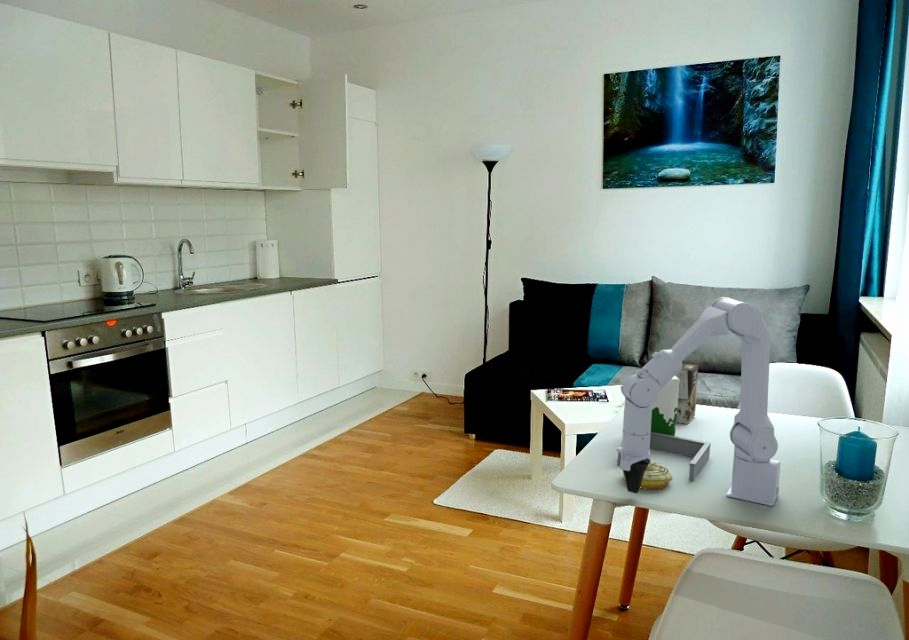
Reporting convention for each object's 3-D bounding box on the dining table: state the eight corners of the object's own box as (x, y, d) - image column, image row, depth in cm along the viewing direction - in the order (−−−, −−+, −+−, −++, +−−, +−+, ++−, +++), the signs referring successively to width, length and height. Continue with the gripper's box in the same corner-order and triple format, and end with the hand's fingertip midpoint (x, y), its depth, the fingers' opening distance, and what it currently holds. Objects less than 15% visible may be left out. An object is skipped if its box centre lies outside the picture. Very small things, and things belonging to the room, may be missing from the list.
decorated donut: (680, 484, 156) (681, 469, 155) (650, 495, 149) (651, 479, 149) (643, 469, 164) (644, 455, 163) (613, 480, 158) (614, 464, 157)
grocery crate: (709, 458, 171) (710, 442, 171) (693, 481, 157) (695, 464, 156) (638, 444, 181) (639, 429, 180) (617, 464, 166) (617, 448, 166)
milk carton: (636, 433, 189) (640, 363, 186) (669, 434, 189) (673, 364, 186) (644, 444, 181) (648, 371, 177) (678, 445, 180) (683, 371, 177)
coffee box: (688, 425, 197) (692, 370, 195) (666, 421, 201) (669, 367, 198) (695, 416, 205) (699, 364, 202) (674, 413, 208) (677, 361, 206)
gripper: (628, 419, 154) (625, 476, 156) (607, 437, 141) (604, 498, 144) (660, 424, 150) (656, 483, 152) (640, 443, 138) (637, 506, 140)
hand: (633, 491), depth 148 cm, fingers closed
